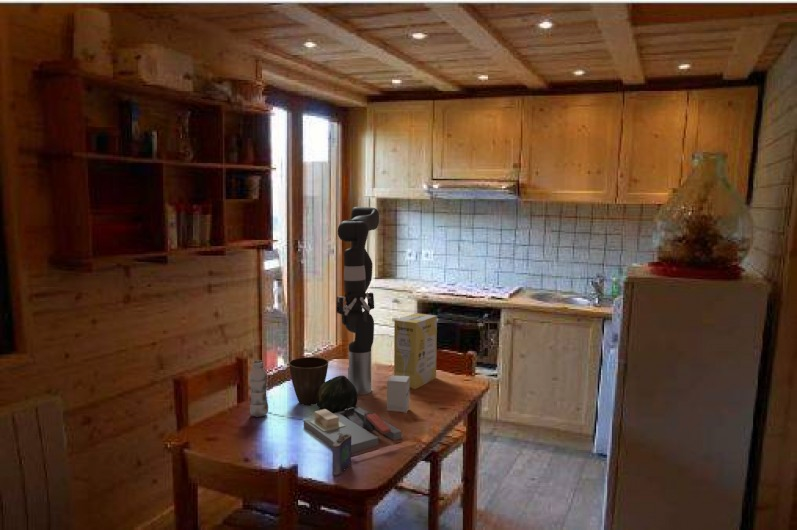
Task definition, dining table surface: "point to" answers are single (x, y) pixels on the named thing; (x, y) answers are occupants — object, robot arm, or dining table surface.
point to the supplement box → (398, 393)
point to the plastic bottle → (258, 390)
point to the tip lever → (367, 420)
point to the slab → (326, 418)
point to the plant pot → (308, 378)
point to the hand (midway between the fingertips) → (356, 323)
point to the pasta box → (415, 348)
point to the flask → (341, 453)
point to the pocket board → (350, 432)
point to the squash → (336, 395)
